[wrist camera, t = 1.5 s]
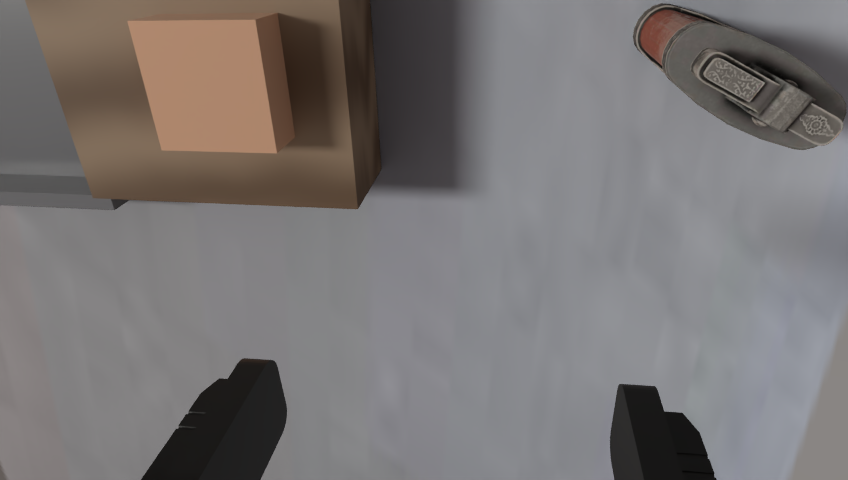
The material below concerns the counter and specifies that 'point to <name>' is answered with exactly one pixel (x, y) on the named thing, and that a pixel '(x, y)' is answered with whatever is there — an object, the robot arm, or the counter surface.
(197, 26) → the tile
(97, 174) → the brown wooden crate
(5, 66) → the tray
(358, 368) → the counter surface
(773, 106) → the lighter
